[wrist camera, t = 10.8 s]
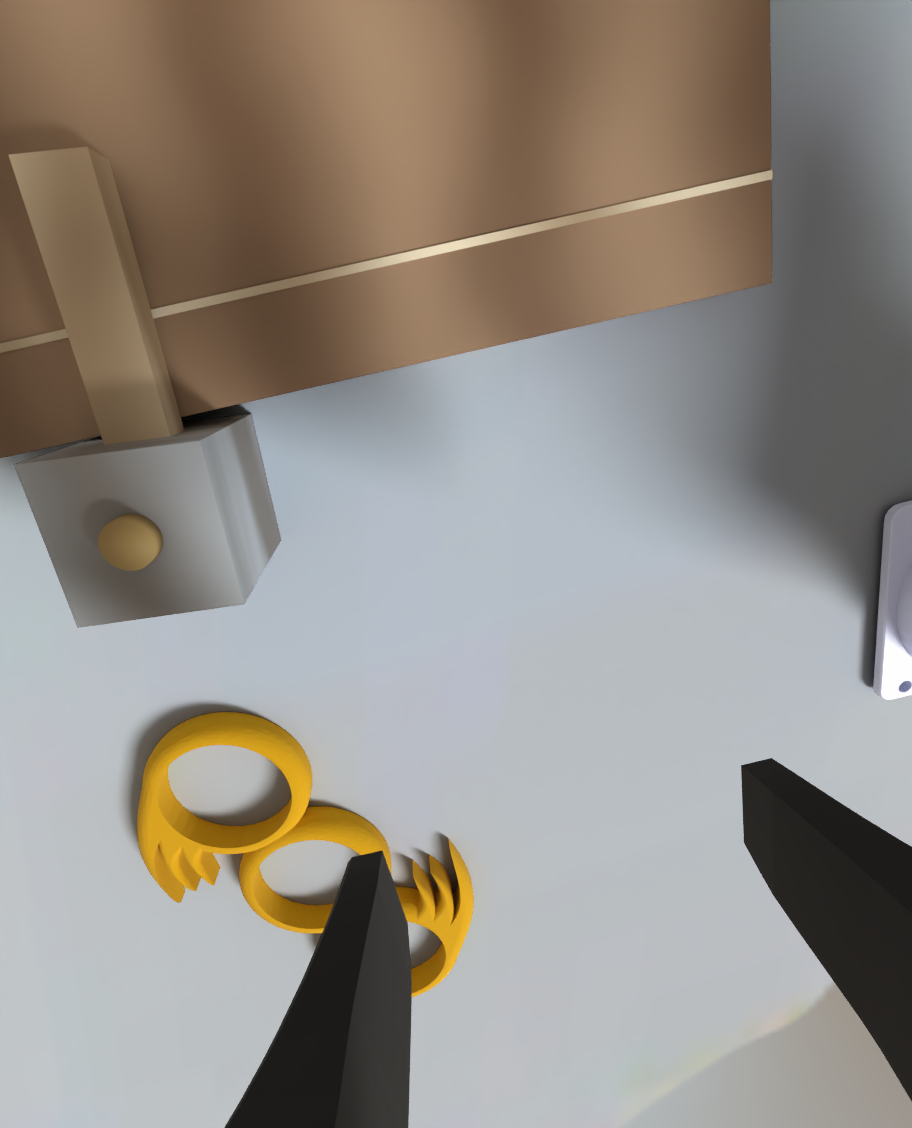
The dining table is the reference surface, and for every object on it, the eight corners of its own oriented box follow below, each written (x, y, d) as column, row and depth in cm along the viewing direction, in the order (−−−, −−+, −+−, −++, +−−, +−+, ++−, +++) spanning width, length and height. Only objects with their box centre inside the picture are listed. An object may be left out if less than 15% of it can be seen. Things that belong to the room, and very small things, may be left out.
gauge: (197, 180, 16) (98, 102, 10) (281, 539, 19) (239, 612, 14) (41, 197, 15) (-137, 127, 10) (156, 556, 19) (67, 637, 14)
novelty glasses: (337, 1010, 28) (519, 915, 27) (333, 1047, 26) (526, 948, 25) (77, 780, 22) (295, 647, 21) (54, 811, 21) (288, 669, 20)
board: (718, -170, 14) (769, -251, 12) (732, 288, 18) (773, 282, 16) (-290, 50, 14) (-402, 3, 12) (-62, 468, 17) (-118, 485, 15)
